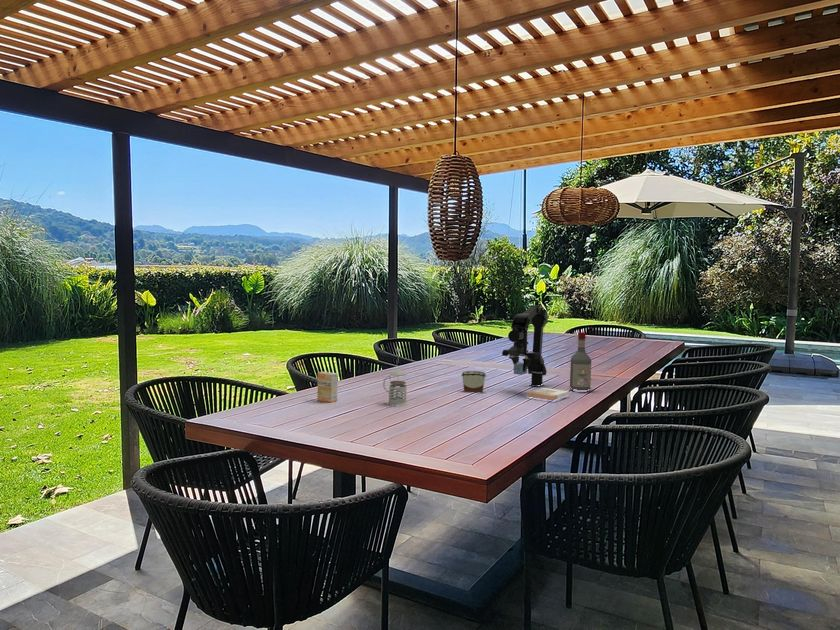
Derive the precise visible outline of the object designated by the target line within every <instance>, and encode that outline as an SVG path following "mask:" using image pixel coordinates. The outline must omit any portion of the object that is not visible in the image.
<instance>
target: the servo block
mask: <svg viewBox="0 0 840 630" xmlns="http://www.w3.org/2000/svg"><path fill="white" fill-rule="evenodd" d="M523 364H524V362H520V361H519V362H517V363H515V364H513V368H512V370H513V375H519V376H521V375H526V374H528V367H527V369H526V371H525V372H523Z"/></svg>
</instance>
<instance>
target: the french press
mask: <svg viewBox="0 0 840 630" xmlns="http://www.w3.org/2000/svg"><path fill="white" fill-rule="evenodd" d="M395 351H396V352H397V362H399V356H400V355H399V354H400V353H399V352H401V349H400V348H396V350H395ZM407 374H408V373H407V372H406V371H405V370H404V371H403V370H401V369H395V370H391V371H390V372H389V375H388V376H386V377H385V378H384V379H383V383H382V386H383V389H384V390H385V391H386V392H387V393H388V401H387V403H388V404H390V405H389V406H392V405H404V406H407V405H406V404H408V405H409V402H408V401H407V385H406V383H407V382H406V381H403V380H402V381H401V380H392V381H389V384H390V385H389V386H388V387H389V390H388V389H387V388H386V383H385V382H386V381H387V378H388V379H389V380H391V376H393V377H394V376H395V377H405V376H407ZM388 404H387V405H388Z"/></svg>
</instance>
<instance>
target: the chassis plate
mask: <svg viewBox="0 0 840 630" xmlns="http://www.w3.org/2000/svg"><path fill="white" fill-rule="evenodd" d="M566 395H570V391H569V390H562V389H555V388H551V387H550V388H549V387H539V388H536V389H533V390H529V391H527V392H526V398H527V397H533V398H540V399H547V400H555V399H558V398H561V397H563V396H566Z"/></svg>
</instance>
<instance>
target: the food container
mask: <svg viewBox="0 0 840 630" xmlns="http://www.w3.org/2000/svg"><path fill="white" fill-rule="evenodd" d="M460 376H461V377H462V384H463V393H470V392H483V393H484V385H485V378H487V374H486V372H484V371H480V370H465V371H463V372H462V373H461V375H460Z"/></svg>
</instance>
